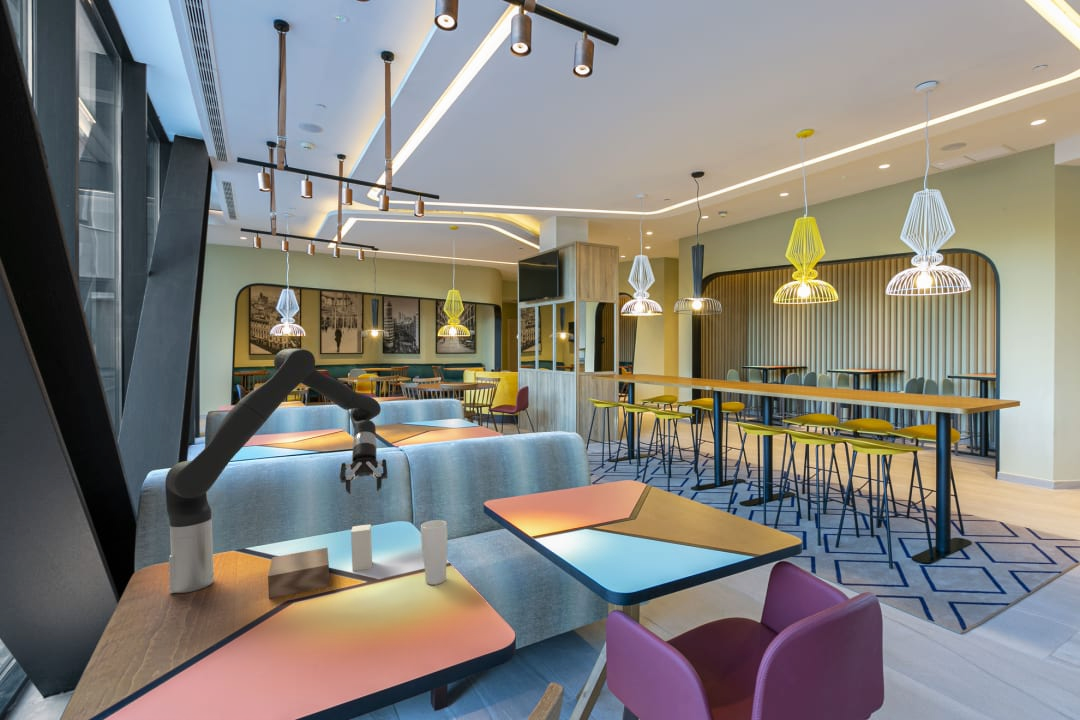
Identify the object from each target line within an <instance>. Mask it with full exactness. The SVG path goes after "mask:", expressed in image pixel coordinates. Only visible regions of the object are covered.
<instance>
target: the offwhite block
mask: <svg viewBox="0 0 1080 720" xmlns="http://www.w3.org/2000/svg"><path fill="white" fill-rule="evenodd" d="M350 543H351V563H352V564H351V567H352V570H351V571H352V572H356V571H355V570H358V571H364V569H365V570H371V569H372V568H371V567H372V566H373V546H372V525H371V524H362V525H353V526H352V528H351V531H350ZM370 568H371V569H370Z"/></svg>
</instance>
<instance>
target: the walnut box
mask: <svg viewBox="0 0 1080 720" xmlns="http://www.w3.org/2000/svg"><path fill="white" fill-rule="evenodd" d="M328 549H329V548H328V547H324V548H316V549H313V550H312V549H311V550H306V551H301V552H300V551H299V552H295V553H289V554H288V553H287V554H283V555H279V556H278V555H277V556H273V557H271V562H270V565H269V570H268V575H267V584H268V585H267V586H268V587H267V588H268V599H270V600H271V599H275V598H280V597H284V596H289V595H294V593H295V594H299V593H298V592H300V593H303V591H305V592H309V591H308V590H310V591H314V590H319V589H322V588H323V589H324V588H328V587H330V565H329V562H330V561H329V551H328ZM312 589H313V590H312Z"/></svg>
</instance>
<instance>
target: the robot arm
mask: <svg viewBox="0 0 1080 720" xmlns="http://www.w3.org/2000/svg"><path fill="white" fill-rule="evenodd" d="M273 364H274V365H273V366H274V368H275V370H276V372H275V373H274V374H273V375H272V376H271V377H270V378H269V379H268V380H267V381H265V382H264V383H262V384H261V385H260V386H258V387H256V388H255V389H253V390H252V391H250V392H249V393H247V394H246V395H244V397H242V398H240V400H239V401H238V402H237V403H236V404H235V405H234V406H233V407H232V408H231V409H230V411H228V412H227V414H226V415H225V416H224V418H223V419H222V421H220V423H219V426H218V427H217V429H216V432H215V434H214V435H213V437H212V438H211V440H210V442H209V443H208V444H207V445H206V446H205V448H203V450H202V451H200V452H199V453H198V455H197V456H195V457H194V458H193V459H192V460H185V461H180V462H178V463H176V464H174V465H173V466H171V468H170V469H169V470H168V472H167V473H166V477H165V483H164V484H165V486H164V487H165V502H166V503H165V505H166V512H167V516H168V519H169V536H170V537H169V538H170V555H169V556H168V572H169V575H168V579H169V594H170V595H171V594H184V593H185V594H186V593H191V592H195V591H199V590H201V589H204V588H207V587H209V586H210V585H212V584H213V583H214V581H215V578H214V576H215V573H214V551H213V550H214V549H213V547H214V546H213V527H212V525H213V523H212V522H213V521H212V520H213V519H212V508H211V507H210V505H209V501H208V497H207V492H208V491H209V490H210V489H211V488H212V487H213V485H214V484H215V483H216V481H217V480H218V478H219V477H220V475H221V474H222V473H223V471H224V470H225V468H226V467H227V466H228V464H229V463H230V462H231V461H232V460H233V458H234V457H235V456H236V454H238V452H240V451H241V450H242V448H243V447H244V446H246V444H247V443H248V441H250V439H251V438H253V437H254V435H255V434H256V433H257V432H258V431H259V430H260V429H261V428H262V426H263V425H264V424H265V423H266V422H267V421H268V420H269V418H270V417H271V415H273V413H274V412H275V411H276V410H277V409H278V408H279V406H281V404H282V403H283V402H284V400H285V399H286V398H287V397H288V396H289V395H290V394H291V393H292V392H293V391H294V390H295V389H296V388H297V387H298V386H299V385H300V384H302V385H304V386H306V387H308V388H310V389H311V390H314V391H315V392H317V393H318V394H319V395H321V396H323V397H324V398H326V399H328V400H329V401H331V403H333V404H334V405H336V406H338V407H340V409H343V410H345V411H348V410H350V412H349V417H350V420H351V423H352V427H353V430H354V431H353V442H352V457H351V458H352V459H351V463H349V464H348V463H347V464H346V462H342V463H341V467H340V475H339V480H340V483H341V484H343V483H345V491H346V493H347V494H348V495H351V494H352V482H354V480H356V478H357V477H363V476H364V477H368V476H370V475H371V476H372V477H374V478H375V479H376V491H380V490H381V489H382V483H383V482H382V481H383V480H386V479H388V468H387V460H386V459H384V458H383V459H382V460H381V461H378V460H377V438H376V437H377V436H376V435H377V433H376V430H377V429H376V424H375V423H374V422H373V421H372V419H375V418H376V417H378V416H379V415H380V414H381V410H382V409H381V405H380V403H379V402H378V401H377V400H376V399H375V398H373V397H371V396H368V395H366V394H364V393H363V394H362V393H361V392H356V391H354V390H353V389H352V388H350V387H349V386H348V385H346V384H345V383H343V382H342V381H340V380H337V379H335V378H333V377H331V376H329V375H326V373H323V372H321V371H319V370H317V369H316V368H315V366H316V358H315V356H314V354H313V353H312V352H311V351H310V350H307V349H305V348H285V349H281V350H280V351H279V352H277V354H276V355H275V356H274V359H273ZM378 467H379V468H381V469H382V473H381V472H379V470H378V469H377V468H378ZM349 469H350V470H351V471H349ZM347 472H349V474H348V475H347ZM346 475H347V476H346Z"/></svg>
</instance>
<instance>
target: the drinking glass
mask: <svg viewBox="0 0 1080 720" xmlns="http://www.w3.org/2000/svg"><path fill="white" fill-rule="evenodd" d="M420 543H421V544H420V545H421V552H422V558H423V565H424V567H423V568H424V574H425V575H424V576H425V582H426V584H428V585H430V586H431V585H433V586H435V585H436V586H437V585H440V584H442V583H444V582H446V580H447V559H448V558H447V556H448V555H447V554H448V524H447V521H445V520H443V519H442V520H440V519H436V520H435V519H434V520H428V521H425V522H423V523H421V525H420Z"/></svg>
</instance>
